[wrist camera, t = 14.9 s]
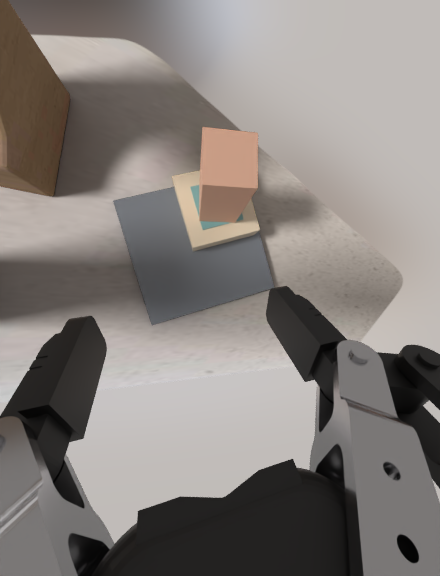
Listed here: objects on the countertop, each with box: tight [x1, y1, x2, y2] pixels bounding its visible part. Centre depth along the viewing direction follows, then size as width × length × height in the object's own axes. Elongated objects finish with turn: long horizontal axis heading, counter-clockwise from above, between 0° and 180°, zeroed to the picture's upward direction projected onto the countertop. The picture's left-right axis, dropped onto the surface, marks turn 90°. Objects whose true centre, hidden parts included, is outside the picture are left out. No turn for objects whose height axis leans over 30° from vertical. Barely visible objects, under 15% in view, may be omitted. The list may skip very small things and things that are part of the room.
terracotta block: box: [199, 127, 258, 223], centre depth 23 cm, size 5×5×10 cm
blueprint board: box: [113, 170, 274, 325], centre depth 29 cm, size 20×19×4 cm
